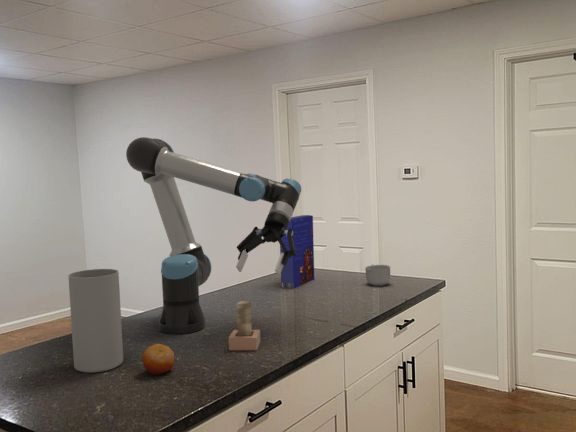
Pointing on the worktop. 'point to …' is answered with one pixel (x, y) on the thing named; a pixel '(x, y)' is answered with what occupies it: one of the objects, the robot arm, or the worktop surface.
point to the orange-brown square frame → (244, 341)
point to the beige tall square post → (244, 318)
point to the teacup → (378, 274)
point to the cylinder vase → (96, 320)
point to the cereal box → (299, 253)
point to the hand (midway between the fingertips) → (257, 271)
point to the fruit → (158, 359)
